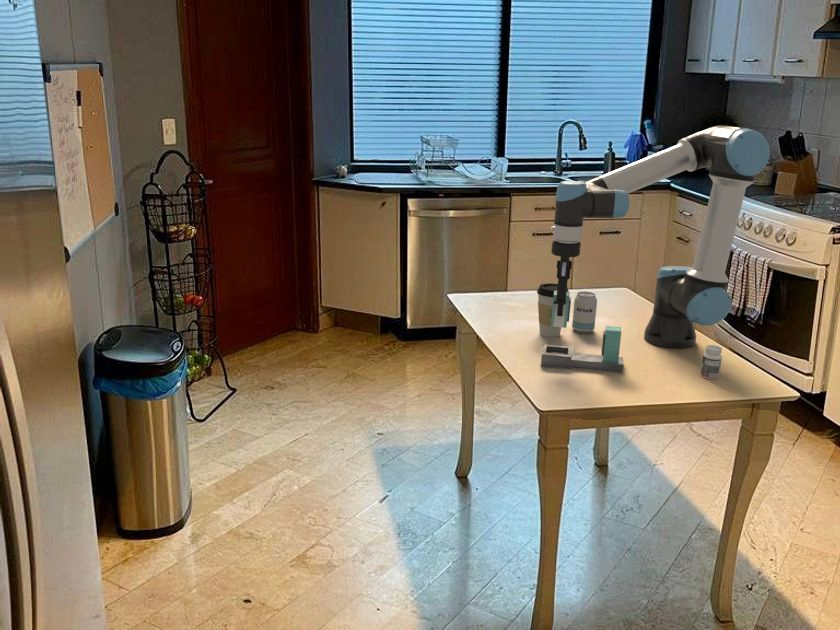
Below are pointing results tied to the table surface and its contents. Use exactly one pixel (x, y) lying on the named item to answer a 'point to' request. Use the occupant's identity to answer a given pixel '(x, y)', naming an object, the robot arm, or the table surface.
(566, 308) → the block
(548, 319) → the coffee cup
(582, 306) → the beverage can
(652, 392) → the table surface
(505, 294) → the table surface
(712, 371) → the pill bottle
